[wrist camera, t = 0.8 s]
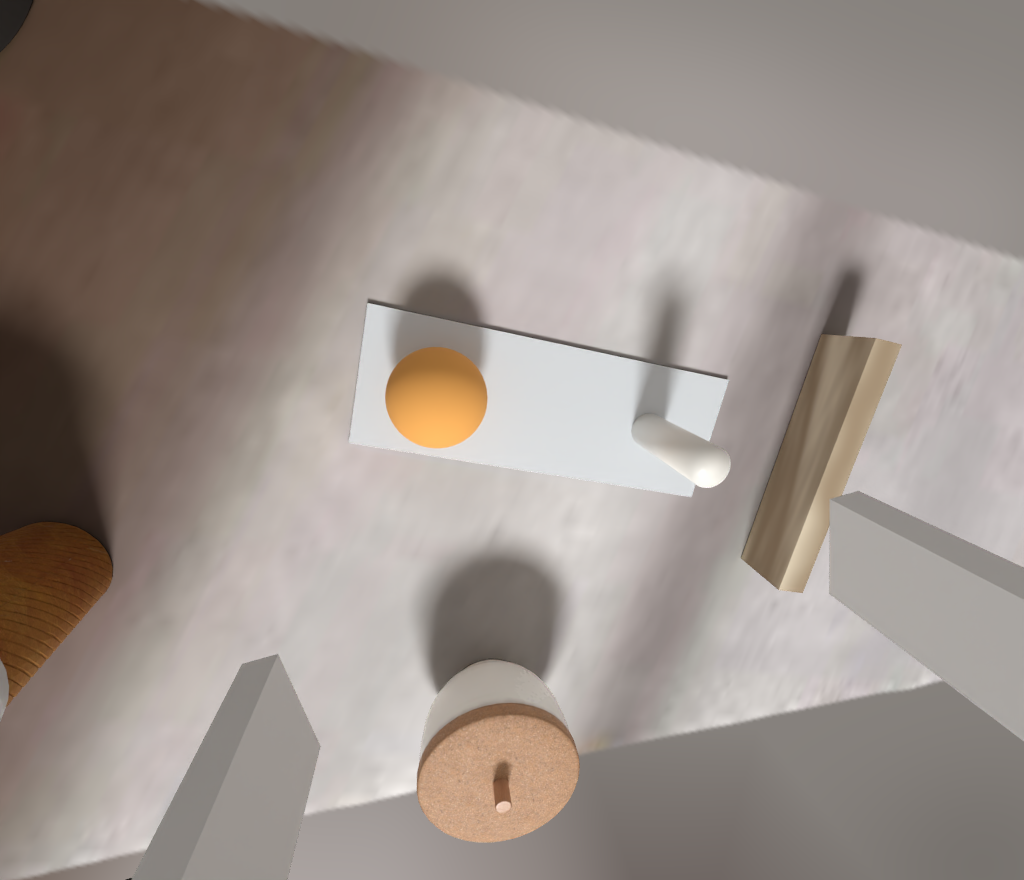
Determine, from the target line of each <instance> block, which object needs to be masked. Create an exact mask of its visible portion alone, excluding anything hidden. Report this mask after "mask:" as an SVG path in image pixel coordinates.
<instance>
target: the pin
mask: <svg viewBox="0 0 1024 880" xmlns="http://www.w3.org/2000/svg"><path fill="white" fill-rule="evenodd" d="M631 433H632V437H633V439H634V441H635V442H636V443H638V444H639V445H640V446H642V447H643V448H645V449H646V450H648V451H649V452H650V453H652V454H653V455H655V456H656V457H658V458H659V459H660V460H662V461H663V462H665V463H666V464H668V465H669V466H670V467H672V468H673V469H675V470H676V471H678V472H679V473H680V474H682V475H683V476H685V477H686V478H688V479H689V480H690V481H692V482H693V483H695V484H696V485H698V486H700V487H703V488H710V487H714V486H716V485H718V484H720V483H721V482H722V481H723V480H724V479H725V478H726V477H727V475H728V473H729V470H730V466H731V461H730V457H729V455H728V453H727V452H726V451H725V450H724V449H722V448H720V447H718V446H716V445H715V444H713V443H711V442H709V441H707V440H705V439H703V438H701V437H699V436H697V435H695V434H693V433H691V432H689V431H687V430H685V429H683V428H681V427H679V426H677V425H675V424H673V423H671V422H669V421H667V420H665V419H663V418H661V417H659V416H657V415H655V414H652V413H646V414H643V415H641V416H639V417H638V418H637V419H636V420H635V422H634V423H633V426H632V430H631Z"/></svg>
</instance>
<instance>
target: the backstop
mask: <svg viewBox="0 0 1024 880" xmlns="http://www.w3.org/2000/svg"><path fill="white" fill-rule="evenodd" d="M901 346H902V345H901V344H897V343H893V342H889V341H885V340H881V339H877V338H866V337H853V336H839V335H826V334H821V337H820V340H819V343H818V345H817V348H816V351H815V354H814V356H813V359H812V362H811V365H810V368H809V370H808V373H807V376H806V379H805V382H804V384H803V387H802V390H801V393H800V395H799V398H798V401H797V404H796V407H795V409H794V412H793V415H792V418H791V421H790V423H789V426H788V429H787V432H786V435H785V437H784V440H783V443H782V446H781V448H780V451H779V454H778V457H777V460H776V462H775V465H774V468H773V471H772V474H771V476H770V479H769V482H768V485H767V487H766V490H765V493H764V496H763V499H762V501H761V504H760V507H759V510H758V513H757V515H756V518H755V521H754V524H753V526H752V529H751V532H750V535H749V538H748V540H747V543H746V546H745V549H744V552H743V554H742V557H741V559H742V560H744V561H745V562H746V563H747V564H748V565H750V566H751V567H752V568H753V569H754V570H755V571H757V572H758V573H759V574H760V575H761V576H763V577H764V578H765V579H766V580H767V581H769V582H770V583H771V584H772V585H773V586H775V587H776V588H777V589H778V590H783V591H791V592H799V593H803V591H804V588H805V586H806V583H807V581H808V578H809V576H810V573H811V571H812V568H813V566H814V563H815V561H816V558H817V556H818V553H819V551H820V548H821V546H822V543H823V541H824V538H825V536H826V533H827V531H828V528H829V526H830V499H832V498H835V497H839V496H842V493H843V491H844V488H845V486H846V483H847V481H848V478H849V476H850V473H851V471H852V468H853V466H854V463H855V461H856V458H857V456H858V453H859V451H860V448H861V446H862V443H863V441H864V438H865V436H866V433H867V431H868V428H869V426H870V423H871V421H872V418H873V416H874V413H875V411H876V408H877V406H878V403H879V401H880V398H881V396H882V393H883V391H884V388H885V386H886V383H887V381H888V378H889V376H890V373H891V371H892V368H893V366H894V363H895V361H896V358H897V356H898V353H899V351H900V348H901Z"/></svg>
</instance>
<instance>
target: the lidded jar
mask: <svg viewBox="0 0 1024 880" xmlns="http://www.w3.org/2000/svg"><path fill="white" fill-rule="evenodd" d="M579 768H580V766H579V756H578V753H577V749H576V746H575V743H574V740H573V738H572V736H571V734H570V732H569V729H568V726H567V723H566V720H565V717H564V715H563V713H562V711H561V709H560V707H559V705H558V703H557V701H556V699H555V697H554V695H553V694H552V692H551V691H550V689H549V688H548V687H547V686H546V684H545V683H544V682H543V681H542V680H541V679H540V678H539V677H538V676H536V675H535V674H534V673H533V672H531V671H529V670H528V669H526V668H524V667H523V666H520V665H518V664H515V663H511V662H507V661H503V660H497V659H488V660H482V661H479V662H476V663H474V664H471V665H470V666H468V667H466V668H465V669H464V670H462V671H460V672H459V673H457V674H456V675H455V676H454V677H452V678H451V679H450V680H449V681H448V682H447V683H446V684H445V686H444V687H443V688H442V689H441V690H440V692H439V693H438V695H437V696H436V698H435V700H434V702H433V704H432V706H431V708H430V710H429V713H428V716H427V719H426V722H425V726H424V731H423V736H422V741H421V749H420V763H419V767H418V772H417V795H418V800H419V803H420V806H421V808H422V810H423V812H424V813H425V815H426V816H427V818H428V819H429V821H431V822H432V823H433V824H434V825H435V826H436V827H437V828H439V829H440V830H442V831H443V832H444V833H446V834H448V835H451V836H453V837H456V838H459V839H462V840H466V841H473V842H497V841H504V840H508V839H513V838H516V837H519V836H522V835H525V834H527V833H529V832H531V831H533V830H536V829H537V828H539V827H541V826H542V825H544V824H545V823H547V822H548V821H549V820H550V819H551V818H553V817H554V816H555V815H557V813H558V812H559V811H560V810H561V809H562V808H563V807H564V806H565V804H566V803H567V802H568V800H569V799H570V797H571V795H572V793H573V791H574V789H575V787H576V783H577V780H578V776H579Z"/></svg>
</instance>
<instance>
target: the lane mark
mask: <svg viewBox="0 0 1024 880" xmlns="http://www.w3.org/2000/svg"><path fill="white" fill-rule="evenodd" d="M428 347H443V348H448V349H452V350H455V351H457V352H459V353H461V354H463V355H464V356H466V357H467V358H468V359H470V360H471V361H472V362H473V363H474V364H475V365H476V367H477V368H478V369H479V371H480V373H481V374H482V376H483V379H484V381H485V384H486V388H487V396H488V399H487V409H486V412H485V416H484V418H483V420H482V422H481V424H480V425H479V427H478V428H477V430H476V431H475V432H474V433H473V434H472V435H471V436H470V437H469V438H467V439H466V440H464V441H463V442H461V443H459V444H457V445H454V446H451V447H447V448H427V447H423V446H420V445H417V444H415V443H413V442H411V441H409V440H408V439H407V438H405V437H404V436H403V435H402V434H401V433H400V432H399V431H398V430H397V429H396V428H395V426H394V425H393V423H392V421H391V419H390V417H389V415H388V412H387V409H386V403H385V392H386V386H387V382H388V379H389V377H390V374H391V373H392V371H393V369H394V368H395V367H396V365H397V364H398V363H399V362H400V361H401V360H402V359H403V358H405V357H406V356H407V355H409V354H411V353H413V352H414V351H417V350H420V349H423V348H428ZM728 382H729V380H726V379H722V378H717V377H712V376H708V375H703V374H698V373H694V372H689V371H684V370H680V369H675V368H670V367H666V366H661V365H656V364H652V363H647V362H642V361H638V360H633V359H628V358H623V357H619V356H614V355H609V354H605V353H600V352H595V351H591V350H586V349H581V348H577V347H572V346H567V345H563V344H558V343H553V342H549V341H544V340H539V339H535V338H530V337H525V336H520V335H516V334H511V333H506V332H502V331H497V330H492V329H488V328H483V327H478V326H474V325H469V324H464V323H460V322H455V321H450V320H446V319H441V318H436V317H432V316H427V315H422V314H417V313H413V312H408V311H403V310H399V309H394V308H389V307H385V306H380V305H375V304H371V303H367V311H366V318H365V325H364V333H363V340H362V348H361V355H360V363H359V370H358V377H357V385H356V392H355V400H354V407H353V414H352V422H351V429H350V437H349V443H352V444H358V445H364V446H371V447H377V448H383V449H390V450H396V451H402V452H409V453H415V454H421V455H428V456H434V457H440V458H447V459H453V460H459V461H466V462H472V463H479V464H485V465H491V466H498V467H504V468H510V469H517V470H523V471H529V472H536V473H542V474H548V475H555V476H561V477H567V478H574V479H580V480H586V481H593V482H599V483H606V484H612V485H618V486H625V487H631V488H637V489H644V490H650V491H656V492H663V493H669V494H675V495H682V496H688V497H692V494H693V491H694V487H695V483H693V482H692V481H690V480H689V479H688V478H686V477H685V476H683V475H682V474H680V473H679V472H678V471H676V470H675V469H673V468H672V467H670V466H669V465H668V464H666V463H665V462H663V461H662V460H660V459H659V458H658V457H656V456H655V455H653V454H652V453H650V452H649V451H648V450H646V449H645V448H643V447H642V446H640V445H639V444H638V443H636V442H635V441H634V439H633V437H632V433H631V430H632V426H633V423H634V422H635V420H636V419H637V418H638V417H639V416H641V415H643V414H646V413H652V414H655V415H657V416H659V417H661V418H663V419H665V420H667V421H669V422H671V423H673V424H675V425H677V426H679V427H681V428H683V429H685V430H687V431H689V432H691V433H693V434H695V435H697V436H699V437H701V438H703V439H705V440H707V441H710V438H711V435H712V431H713V428H714V425H715V422H716V419H717V416H718V413H719V410H720V406H721V403H722V400H723V397H724V394H725V391H726V388H727V385H728Z"/></svg>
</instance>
